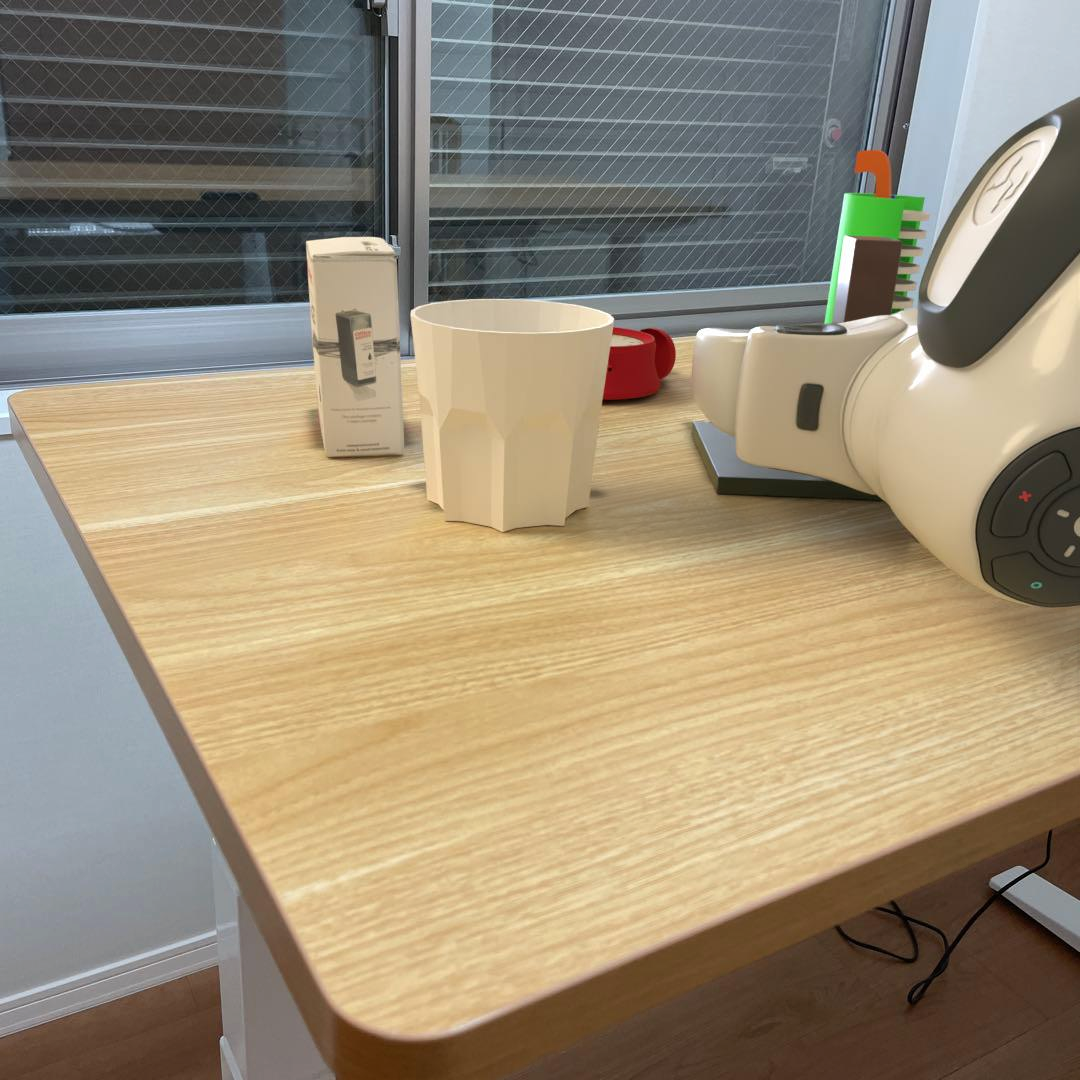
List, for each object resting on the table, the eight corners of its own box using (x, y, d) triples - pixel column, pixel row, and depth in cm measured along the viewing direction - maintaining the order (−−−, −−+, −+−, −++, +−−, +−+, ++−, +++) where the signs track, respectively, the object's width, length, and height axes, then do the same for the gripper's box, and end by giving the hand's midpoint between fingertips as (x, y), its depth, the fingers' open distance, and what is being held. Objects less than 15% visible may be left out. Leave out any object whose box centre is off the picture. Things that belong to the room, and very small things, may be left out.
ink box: (313, 421, 68) (304, 235, 64) (389, 419, 69) (386, 236, 65) (320, 460, 60) (311, 251, 56) (406, 457, 62) (404, 252, 57)
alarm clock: (496, 346, 75) (577, 278, 86) (503, 423, 79) (579, 348, 90) (630, 363, 71) (696, 290, 83) (631, 443, 75) (694, 362, 86)
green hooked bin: (909, 363, 94) (945, 153, 87) (819, 355, 96) (847, 149, 89) (905, 345, 102) (937, 152, 96) (821, 338, 104) (848, 148, 98)
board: (886, 443, 68) (889, 428, 68) (950, 503, 57) (953, 485, 57) (691, 435, 68) (692, 420, 68) (716, 493, 57) (718, 476, 57)
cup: (375, 515, 52) (370, 318, 49) (468, 464, 61) (470, 293, 57) (556, 552, 48) (566, 341, 45) (628, 491, 57) (641, 311, 53)
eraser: (794, 425, 66) (820, 230, 62) (857, 428, 66) (887, 233, 62) (824, 462, 58) (856, 243, 54) (895, 465, 58) (932, 246, 54)
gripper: (1168, 349, 47) (1037, 303, 60) (720, 329, 47) (686, 288, 60) (1134, 480, 49) (1015, 409, 62) (706, 462, 49) (676, 395, 62)
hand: (850, 350), depth 61 cm, fingers closed on eraser, 2 cm apart
